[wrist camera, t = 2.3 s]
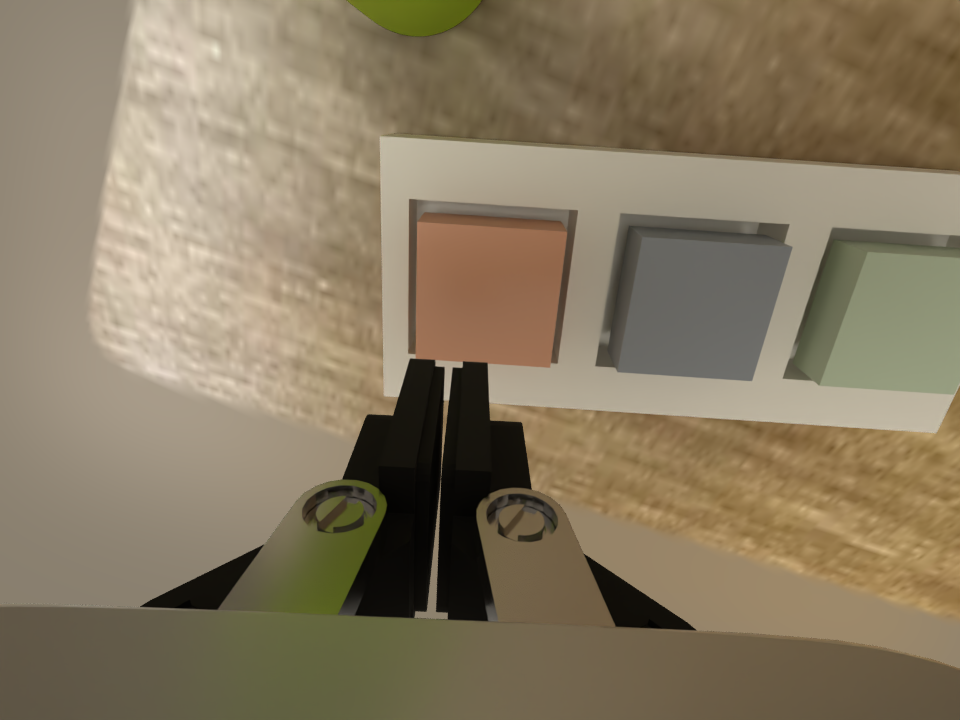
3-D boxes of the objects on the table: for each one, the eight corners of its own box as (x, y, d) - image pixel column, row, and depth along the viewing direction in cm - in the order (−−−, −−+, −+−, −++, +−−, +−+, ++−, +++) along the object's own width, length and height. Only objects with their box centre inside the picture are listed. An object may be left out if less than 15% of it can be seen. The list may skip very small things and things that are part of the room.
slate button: (765, 234, 20) (792, 247, 18) (730, 359, 22) (752, 381, 20) (628, 225, 20) (642, 237, 18) (607, 350, 22) (617, 372, 20)
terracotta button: (560, 221, 20) (567, 231, 18) (545, 346, 22) (550, 367, 20) (424, 211, 20) (417, 221, 18) (422, 338, 22) (415, 358, 20)
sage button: (970, 248, 20) (1018, 262, 18) (915, 371, 22) (954, 394, 20) (833, 239, 20) (867, 251, 18) (792, 362, 22) (819, 385, 20)
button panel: (985, 172, 21) (1058, 181, 18) (888, 398, 25) (936, 433, 22) (395, 133, 21) (379, 135, 18) (396, 365, 25) (383, 396, 22)
